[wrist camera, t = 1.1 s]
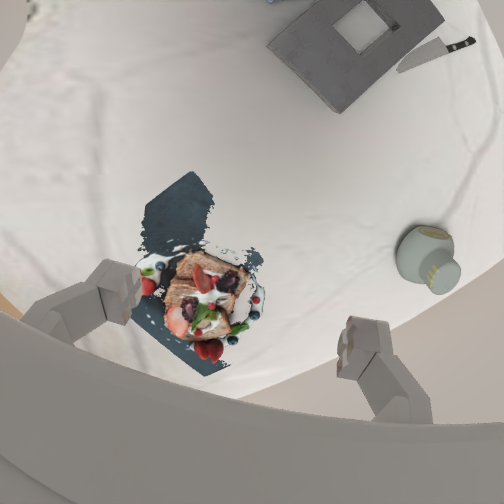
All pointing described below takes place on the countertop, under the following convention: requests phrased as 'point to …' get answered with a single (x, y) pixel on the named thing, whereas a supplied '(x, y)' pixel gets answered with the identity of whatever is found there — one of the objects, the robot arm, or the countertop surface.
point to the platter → (190, 279)
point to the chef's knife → (430, 53)
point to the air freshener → (429, 259)
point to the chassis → (342, 53)
